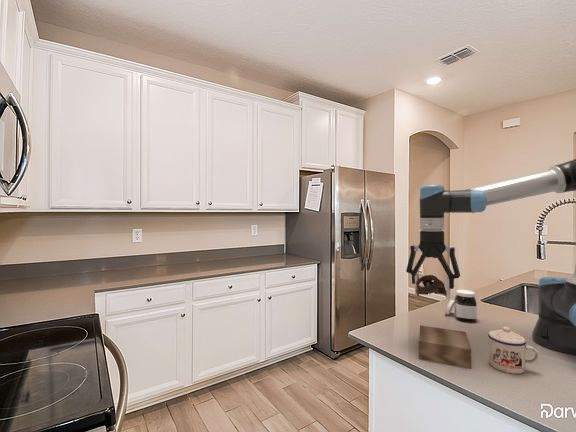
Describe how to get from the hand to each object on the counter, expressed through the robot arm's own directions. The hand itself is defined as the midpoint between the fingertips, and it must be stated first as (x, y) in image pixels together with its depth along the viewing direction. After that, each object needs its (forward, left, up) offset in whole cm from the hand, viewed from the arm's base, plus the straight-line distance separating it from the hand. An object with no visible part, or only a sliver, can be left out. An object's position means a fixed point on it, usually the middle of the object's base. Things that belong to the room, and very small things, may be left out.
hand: (432, 295), depth 101 cm
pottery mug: (+1, 0, 0) cm, 1 cm away
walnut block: (-4, +4, -18) cm, 18 cm away
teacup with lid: (-22, +2, -18) cm, 28 cm away
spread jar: (-5, -36, -18) cm, 40 cm away
